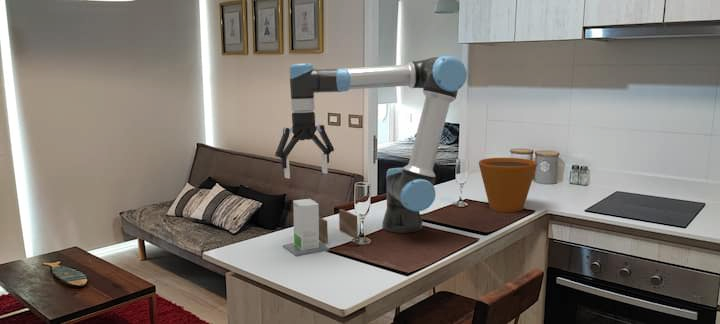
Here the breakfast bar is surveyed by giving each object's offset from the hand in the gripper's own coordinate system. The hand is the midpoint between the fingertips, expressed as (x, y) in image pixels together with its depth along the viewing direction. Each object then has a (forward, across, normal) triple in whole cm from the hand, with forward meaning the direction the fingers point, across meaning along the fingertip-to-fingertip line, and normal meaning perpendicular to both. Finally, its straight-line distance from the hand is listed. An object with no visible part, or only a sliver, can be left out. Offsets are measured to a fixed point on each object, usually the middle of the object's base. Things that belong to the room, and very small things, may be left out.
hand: (306, 175), depth 179 cm
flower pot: (+26, -93, -3) cm, 97 cm away
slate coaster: (+25, +2, 0) cm, 25 cm away
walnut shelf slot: (+25, -12, -6) cm, 29 cm away
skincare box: (+24, +1, +1) cm, 24 cm away
